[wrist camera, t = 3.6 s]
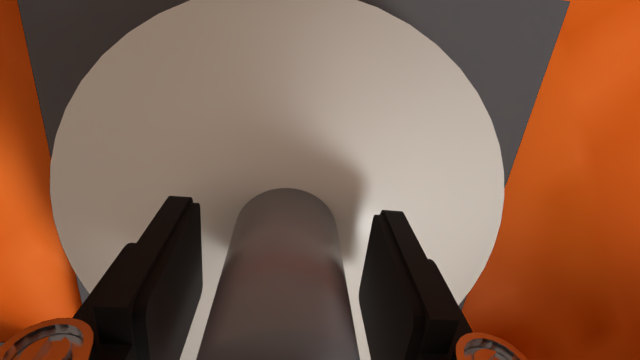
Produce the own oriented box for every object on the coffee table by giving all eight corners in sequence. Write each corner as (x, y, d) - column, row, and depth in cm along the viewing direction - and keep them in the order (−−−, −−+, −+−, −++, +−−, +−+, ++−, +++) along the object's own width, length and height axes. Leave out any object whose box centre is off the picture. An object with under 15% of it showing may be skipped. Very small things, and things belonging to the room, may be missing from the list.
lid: (30, -43, 9) (-453, -138, 3) (545, 19, 10) (866, 33, 4) (105, 349, 14) (-22, 575, 8) (433, 358, 15) (511, 561, 10)
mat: (19, -67, 9) (1, -72, 8) (555, 1, 10) (570, 1, 10) (101, 345, 15) (93, 358, 14) (436, 354, 16) (441, 367, 16)
